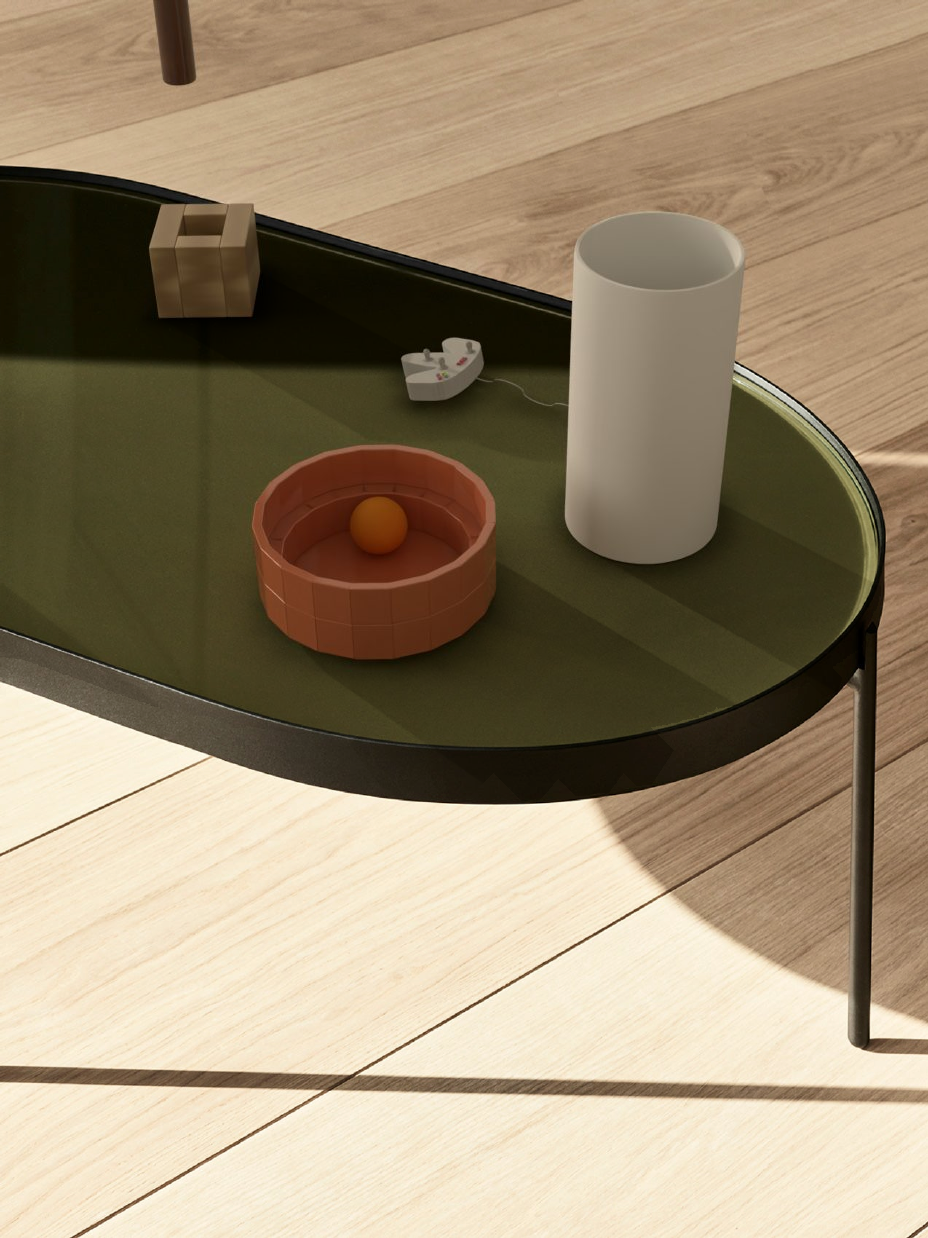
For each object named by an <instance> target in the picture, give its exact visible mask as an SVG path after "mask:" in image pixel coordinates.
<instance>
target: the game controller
mask: <svg viewBox="0 0 928 1238" xmlns="http://www.w3.org/2000/svg"><path fill="white" fill-rule="evenodd" d="M441 347H442V351H443V352H431V350H430V349H428V348H425V349H423V352H412V353H407V354H404V355H402V357H401V358H400V360H401V364H402V365H401V366H402V369H403V374H404V377H405V383H406V388H407V393H408V398H409V399H410V400H411V401H422V402H423V401H424V402H425V401H427V402H429V401H431V402H432V401H434V402H435V401H445V400H449V399H451V398H453V397H454V396H457V395H458V394H460V393H462V392H463V391H464V390H465V389H467V388H468V387H469V386H470V385H471V384H472V383H473V382H474V381H475V380H479V381H482V382H485V383H493V382H494V381H502V382H506V383H508V384H510V385H513V386H515V387H517V388H518V389H520V390H521V392H522V394H523V396H524V397H525V398H527V399H528V400H529V401H532V402H534V403H536V404H540V405H543V406H547V407H553V406H554V405H561V406H562V405H563V406H566V407H568V408H569V404H566V403H562V402H555V403H554V404H547V403H542V402H540V401H537V400H535V399H533V398H530V396H528V395H527V394H526V393H525V390H524V389H523V388H522V387H521V386H519V385H517V384H515V383H514V382H511V381H509V380H506V379H501V378H495V379H494V380H486V379H482V378H479V377H478V376H480V374H481V373H482V370H483V368H484V364H485V361H484V356H483V352H482V346H481V343H480V342H479V341H476V340H473V339H467V338H461V337H449V338H446V339H445V340H443V341H442V342H441Z"/></svg>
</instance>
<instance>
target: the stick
mask: <svg viewBox="0 0 928 1238" xmlns="http://www.w3.org/2000/svg"><path fill="white" fill-rule="evenodd" d="M152 3H153V12H154V20H155V21H154V22H155V27H156V36H157V45H158V51H159V52H158V53H159V60H160V67H161V76H162V81H163V83H165V85H170V86H176V87H179V86H181V87H182V86H186V85H190V84H193V83H195V81H197V69H196V60H195V51H194V42H193V33H192V24H191V23H192V22H191V15H190V6H189V0H152Z"/></svg>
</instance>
